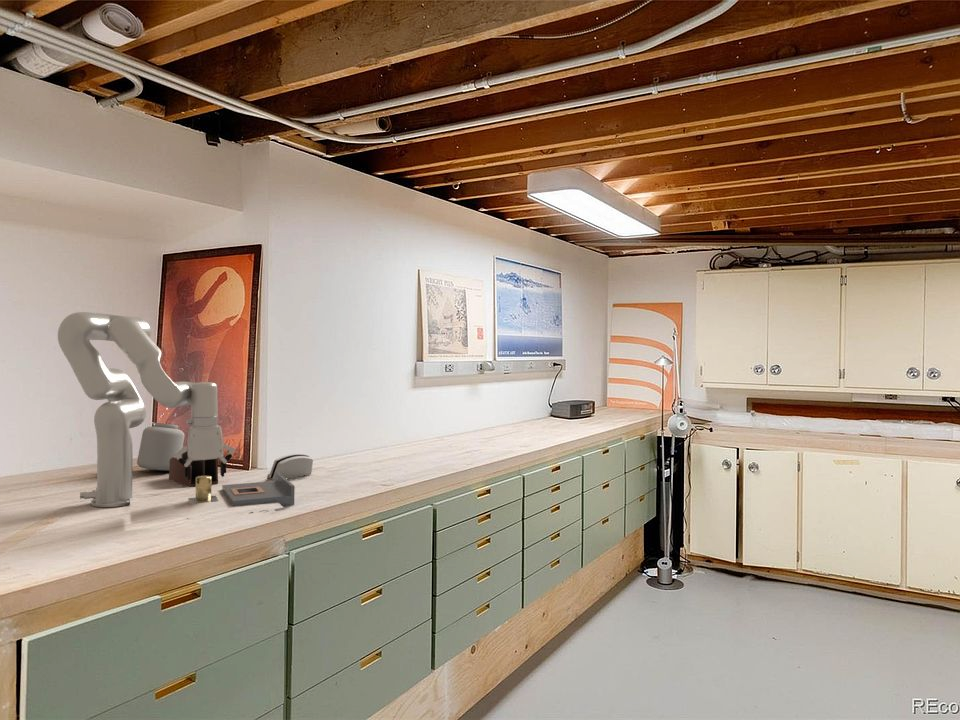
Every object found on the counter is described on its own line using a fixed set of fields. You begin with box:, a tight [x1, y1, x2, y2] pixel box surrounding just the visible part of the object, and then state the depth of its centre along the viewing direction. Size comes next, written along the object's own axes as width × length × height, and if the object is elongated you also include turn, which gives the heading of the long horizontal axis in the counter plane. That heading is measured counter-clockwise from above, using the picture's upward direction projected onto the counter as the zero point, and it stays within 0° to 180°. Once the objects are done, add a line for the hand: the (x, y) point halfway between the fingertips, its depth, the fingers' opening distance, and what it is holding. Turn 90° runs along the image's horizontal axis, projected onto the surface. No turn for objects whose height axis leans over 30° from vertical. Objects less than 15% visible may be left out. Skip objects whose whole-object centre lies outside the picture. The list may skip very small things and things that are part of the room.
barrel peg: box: [195, 476, 212, 501], centre depth 202 cm, size 4×4×7 cm
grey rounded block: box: [266, 453, 314, 481], centre depth 245 cm, size 17×5×10 cm, turn 141°
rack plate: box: [221, 472, 296, 507], centre depth 210 cm, size 18×24×6 cm
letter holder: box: [168, 451, 219, 488], centre depth 235 cm, size 10×20×14 cm, turn 45°
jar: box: [136, 407, 185, 472], centre depth 252 cm, size 19×15×25 cm
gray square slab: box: [188, 495, 220, 505], centre depth 202 cm, size 8×8×2 cm
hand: (205, 477), depth 202 cm, fingers open, 9 cm apart
